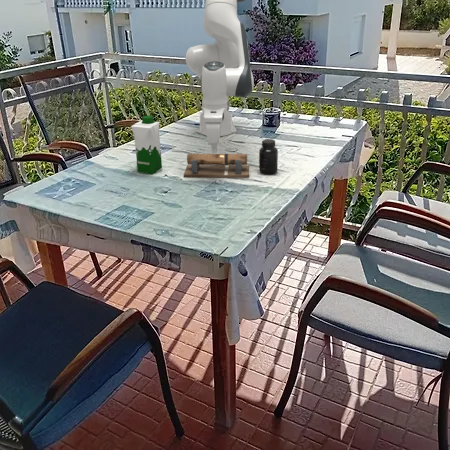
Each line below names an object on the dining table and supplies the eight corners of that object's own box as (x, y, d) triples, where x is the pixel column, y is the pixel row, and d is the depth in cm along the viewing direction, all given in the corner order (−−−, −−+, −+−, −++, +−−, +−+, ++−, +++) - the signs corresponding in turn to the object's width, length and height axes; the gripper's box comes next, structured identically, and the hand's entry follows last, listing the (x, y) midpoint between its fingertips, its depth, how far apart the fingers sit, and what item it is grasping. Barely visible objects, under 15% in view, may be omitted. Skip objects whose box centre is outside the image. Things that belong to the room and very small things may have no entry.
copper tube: (187, 164, 176) (186, 153, 175) (188, 164, 180) (188, 153, 179) (246, 165, 175) (246, 153, 174) (246, 164, 179) (247, 153, 178)
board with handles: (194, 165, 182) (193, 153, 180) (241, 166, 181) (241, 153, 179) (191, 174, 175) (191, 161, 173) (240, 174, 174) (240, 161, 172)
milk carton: (165, 167, 184) (161, 116, 175) (154, 175, 177) (149, 122, 168) (145, 164, 187) (140, 114, 178) (133, 173, 180) (127, 120, 170)
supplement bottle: (267, 167, 183) (268, 136, 177) (281, 171, 178) (282, 140, 173) (255, 172, 179) (255, 141, 173) (269, 176, 174) (269, 145, 169)
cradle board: (187, 167, 184) (187, 164, 183) (249, 167, 182) (249, 165, 182) (183, 177, 175) (183, 174, 175) (249, 177, 174) (249, 175, 173)
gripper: (208, 103, 177) (209, 138, 184) (203, 119, 159) (204, 158, 166) (225, 103, 177) (226, 139, 184) (221, 119, 159) (222, 158, 166)
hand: (215, 148), depth 175 cm, fingers open, 8 cm apart
